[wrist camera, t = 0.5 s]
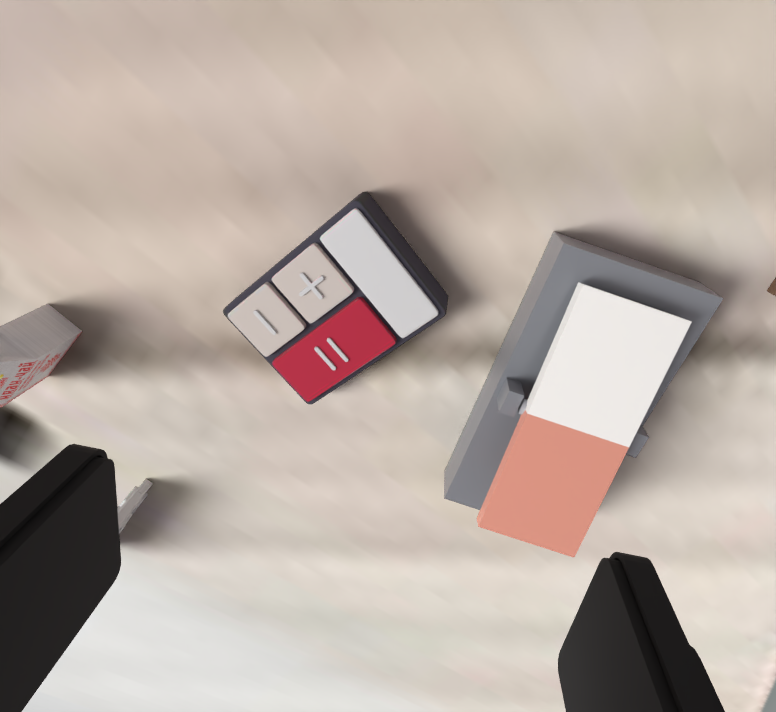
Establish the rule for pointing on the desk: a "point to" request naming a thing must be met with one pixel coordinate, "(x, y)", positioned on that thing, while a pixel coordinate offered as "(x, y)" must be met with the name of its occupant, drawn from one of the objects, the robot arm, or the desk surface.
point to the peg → (772, 288)
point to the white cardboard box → (32, 349)
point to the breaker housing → (534, 338)
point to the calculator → (339, 301)
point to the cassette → (132, 503)
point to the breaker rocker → (580, 418)
